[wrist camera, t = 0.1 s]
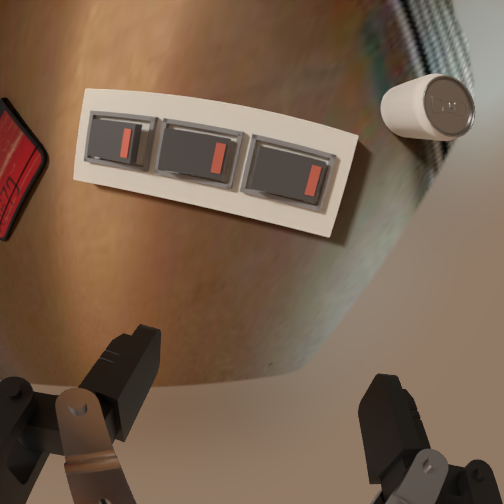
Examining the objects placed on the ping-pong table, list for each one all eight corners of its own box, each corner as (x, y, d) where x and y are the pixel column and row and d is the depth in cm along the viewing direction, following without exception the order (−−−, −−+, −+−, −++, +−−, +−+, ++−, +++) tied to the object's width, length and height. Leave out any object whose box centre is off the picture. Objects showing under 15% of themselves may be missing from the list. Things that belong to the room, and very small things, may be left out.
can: (427, 139, 33) (479, 145, 22) (380, 136, 34) (420, 139, 23) (425, 89, 31) (476, 77, 20) (377, 83, 31) (416, 65, 20)
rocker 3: (258, 145, 31) (260, 146, 30) (322, 160, 32) (326, 162, 31) (249, 186, 33) (250, 189, 31) (312, 199, 34) (315, 202, 33)
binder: (-40, 189, 40) (-1, 96, 33) (-32, 186, 42) (8, 96, 35) (1, 247, 44) (47, 157, 37) (9, 242, 46) (56, 154, 39)
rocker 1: (98, 119, 33) (91, 118, 31) (142, 124, 31) (134, 124, 30) (93, 154, 34) (86, 154, 33) (136, 163, 33) (128, 164, 32)
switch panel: (97, 90, 34) (82, 88, 31) (352, 135, 34) (360, 135, 31) (85, 175, 39) (69, 180, 35) (326, 230, 38) (330, 240, 35)
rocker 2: (166, 127, 31) (164, 128, 30) (230, 138, 32) (231, 139, 31) (159, 167, 33) (157, 169, 32) (222, 177, 34) (222, 180, 33)
